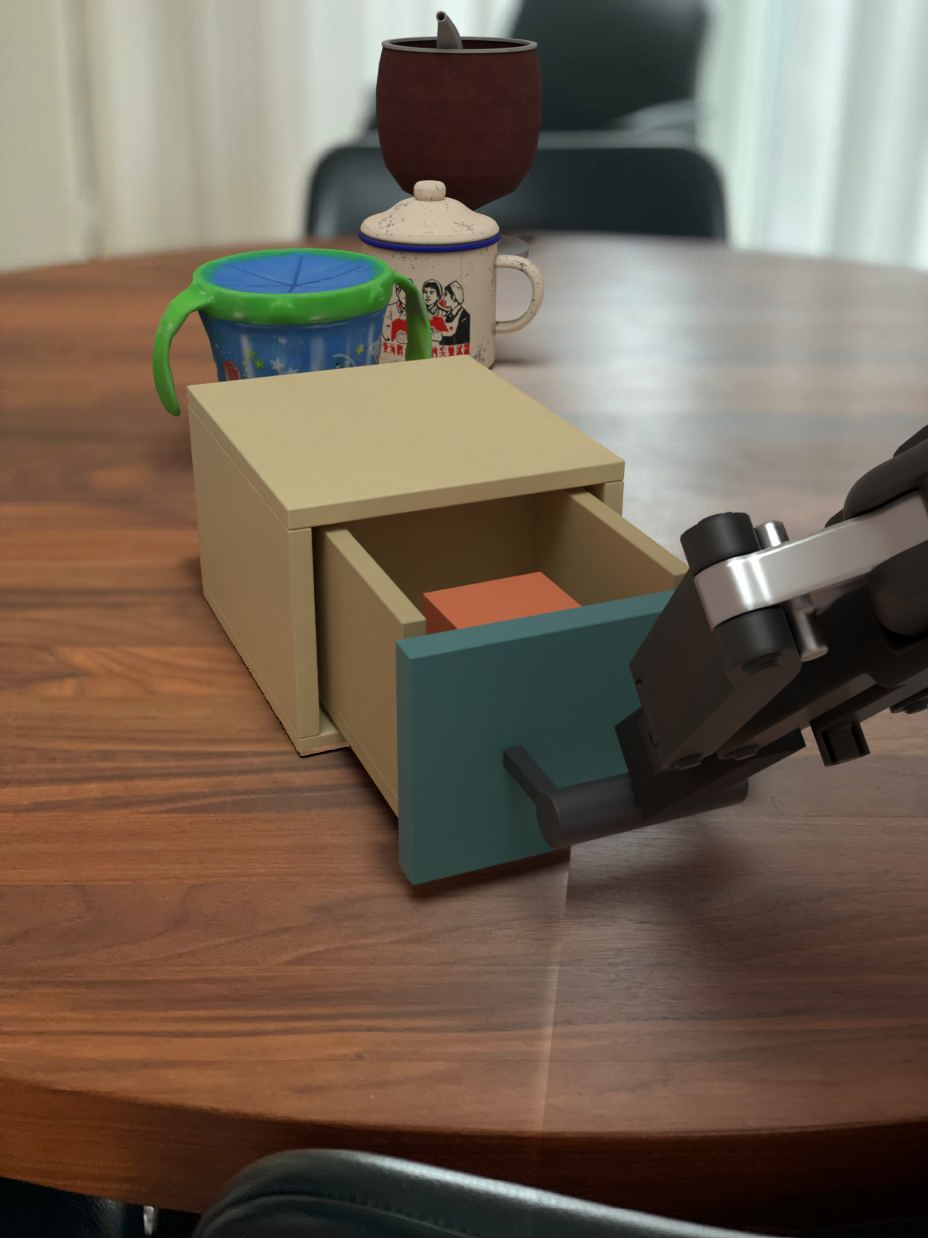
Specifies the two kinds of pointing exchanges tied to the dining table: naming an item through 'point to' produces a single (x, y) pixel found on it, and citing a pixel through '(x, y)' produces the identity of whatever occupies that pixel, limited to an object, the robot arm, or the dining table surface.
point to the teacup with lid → (445, 273)
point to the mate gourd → (460, 115)
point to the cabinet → (353, 488)
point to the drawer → (492, 674)
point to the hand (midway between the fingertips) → (652, 767)
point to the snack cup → (290, 315)
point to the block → (493, 602)
